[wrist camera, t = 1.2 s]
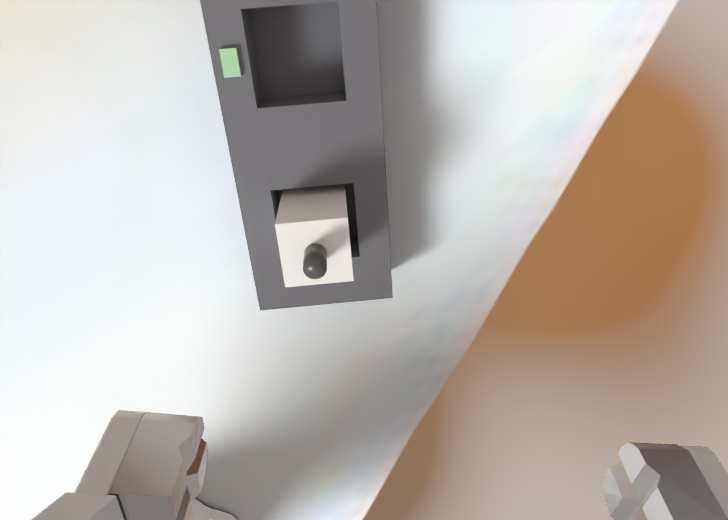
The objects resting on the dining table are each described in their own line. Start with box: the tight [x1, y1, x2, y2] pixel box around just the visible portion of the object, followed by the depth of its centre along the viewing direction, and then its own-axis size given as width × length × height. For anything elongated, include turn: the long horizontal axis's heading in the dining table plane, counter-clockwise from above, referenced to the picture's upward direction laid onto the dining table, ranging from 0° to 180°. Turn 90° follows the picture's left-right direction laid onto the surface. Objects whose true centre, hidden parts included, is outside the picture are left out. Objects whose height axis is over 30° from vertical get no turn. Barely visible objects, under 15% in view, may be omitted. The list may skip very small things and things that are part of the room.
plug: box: [275, 184, 354, 287], centre depth 35 cm, size 4×4×10 cm
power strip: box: [200, 0, 393, 310], centre depth 35 cm, size 24×10×5 cm, turn 4°
